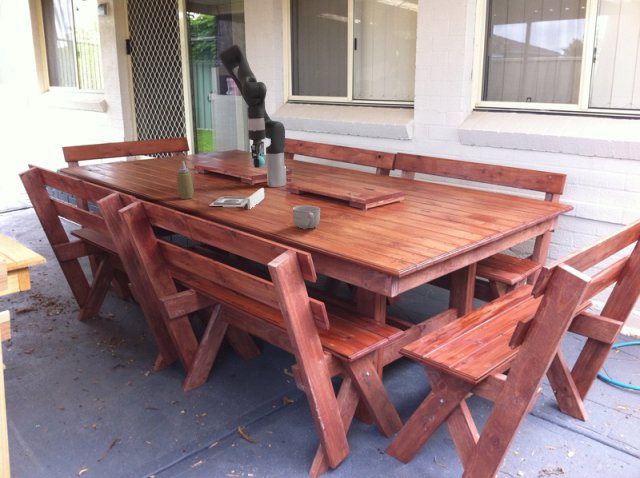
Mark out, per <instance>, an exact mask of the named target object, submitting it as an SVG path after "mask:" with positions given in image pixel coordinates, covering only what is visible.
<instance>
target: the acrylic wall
mask: <svg viewBox="0 0 640 478" xmlns="http://www.w3.org/2000/svg"><path fill="white" fill-rule="evenodd" d="M248 197H249V198H247V201H248V204H247V210H249V209H251V208H252V207H253V208H255V205H256V204H257V205H259V203H260V202H262V201H263V200H264V199H265V188H264V187H261V188H259V189H258V190H257V191H255V192H254V193H253V194H251V195H250V196H248ZM257 205H256V206H257ZM253 208H252V209H253ZM252 209H251V210H252Z"/></svg>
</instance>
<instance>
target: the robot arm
mask: <svg viewBox="0 0 640 478" xmlns="http://www.w3.org/2000/svg"><path fill="white" fill-rule="evenodd" d="M218 57H219V59H220V61H221V64H222V65H223V67H224V68H225V70H226V72H227V73H228V74H229V76H230V77H231V80H233V82H234V83H235V85H236V87H237V90H238V91H239V93H240V94H241V97H242V99H243V100H244V101H245V104H246V105H247V109H246V110H247V131H248V132H247V133H248V140H250V141H252V145H250V151H251V158H252V160H253V159H254V165H253V166H254V168H255V169H256V168H257V169H260V168H259V167H260V165H259V156H262V157H263V158H264V154H265V157H266V158H265V160H266V161H265V162H266V175H267V176H266V178H267V179H266V180H267V181H266V182H267V183H266V184H267V186H268V187H271V188H280V187H284V186H286V185H287V183H288V182H287V167H286V166H285V147H286V129H285V125H284V124H283V122H281V121H277V120H272V119H271V117H270V116H269V114H268V112H267V109H266V97H267V86H266V84H265V83H264V82H263V81H258V79H257V77H256V76H255V74H254V72H253V71H252V69H251V67H250V64H249V62H248V59H247V57H246V55H245V52H244V51H243V49H242V47H241V46H239V45H238V44H233V45H232V46H230V47H227V48H226V49H224V50H223V51H221V52H219V54H218ZM237 67H238V68H237ZM236 68H237V71H236V70H235V69H236ZM266 139H269V140H270V144H269V145H268V146H266V147H265V141H263V140H266Z"/></svg>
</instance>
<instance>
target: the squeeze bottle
mask: <svg viewBox="0 0 640 478" xmlns="http://www.w3.org/2000/svg"><path fill="white" fill-rule="evenodd" d="M194 190H195V189H194V184H193V180H192V174H191V173H190V172H189V168H188V167H186V164H185V161H184V160H181V163H180V168H179V169H178V173H176V193H177V195H178V197H179V199H180V198H181V200H189V199H192V198H193V195H194V192H195V191H194Z"/></svg>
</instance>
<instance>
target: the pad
mask: <svg viewBox="0 0 640 478" xmlns="http://www.w3.org/2000/svg"><path fill="white" fill-rule="evenodd" d="M249 197H250V196H231V195H230V196H229V195H228V196H227V195H226V196H221V197H219V198H217V199H216V200H215V201H213V202H211V203H210V204H208V207H209V206H223V207H222V208H236V207H243V208H244V207H245V205H246V204H247V205H248V201H247V198H249ZM247 205H246V206H247Z"/></svg>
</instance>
